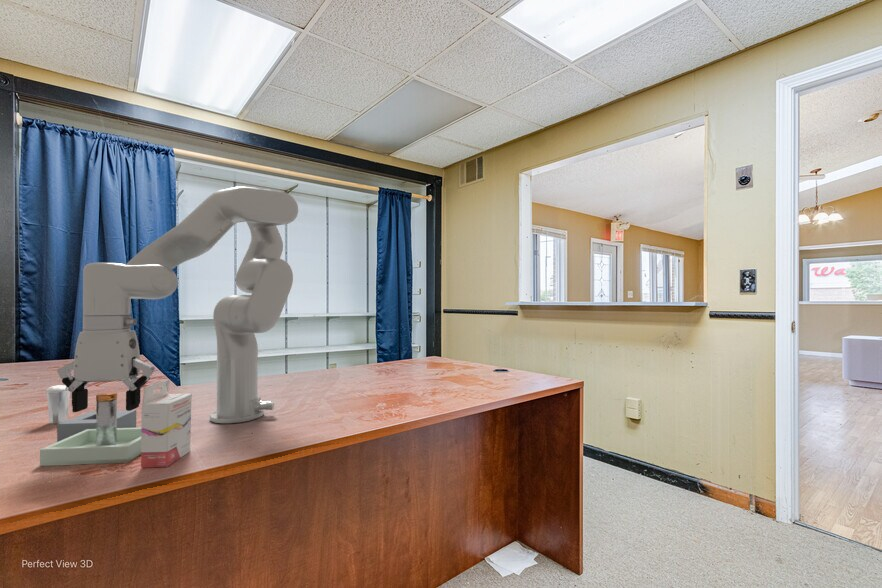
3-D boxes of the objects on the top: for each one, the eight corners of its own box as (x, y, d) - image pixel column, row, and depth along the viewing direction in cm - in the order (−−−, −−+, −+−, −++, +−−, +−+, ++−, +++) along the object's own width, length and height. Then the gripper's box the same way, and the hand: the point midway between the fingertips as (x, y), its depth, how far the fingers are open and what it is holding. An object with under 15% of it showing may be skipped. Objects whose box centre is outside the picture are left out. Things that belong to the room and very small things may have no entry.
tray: (162, 440, 91) (162, 426, 91) (127, 462, 79) (127, 446, 79) (87, 443, 89) (87, 429, 89) (39, 465, 77) (40, 449, 77)
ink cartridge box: (168, 467, 76) (169, 387, 77) (139, 468, 76) (140, 387, 76) (192, 450, 85) (192, 378, 85) (166, 451, 85) (167, 378, 85)
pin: (120, 445, 86) (121, 392, 86) (109, 451, 82) (110, 396, 82) (103, 446, 85) (103, 392, 85) (91, 452, 82) (92, 396, 82)
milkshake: (58, 425, 101) (58, 384, 101) (40, 424, 102) (41, 383, 102) (78, 420, 105) (78, 380, 106) (61, 418, 107) (61, 379, 107)
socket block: (136, 426, 100) (136, 410, 100) (108, 441, 90) (108, 422, 90) (90, 428, 99) (90, 411, 99) (57, 442, 89) (57, 424, 89)
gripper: (163, 323, 89) (162, 403, 89) (74, 323, 87) (73, 406, 87) (142, 325, 81) (141, 413, 81) (44, 325, 79) (43, 416, 79)
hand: (106, 409), depth 84 cm, fingers open, 9 cm apart
